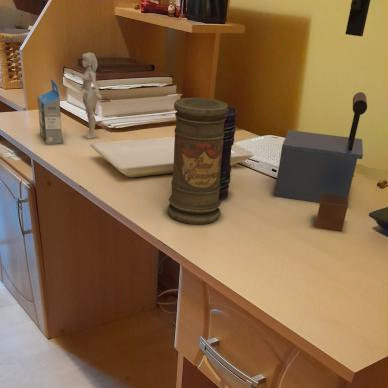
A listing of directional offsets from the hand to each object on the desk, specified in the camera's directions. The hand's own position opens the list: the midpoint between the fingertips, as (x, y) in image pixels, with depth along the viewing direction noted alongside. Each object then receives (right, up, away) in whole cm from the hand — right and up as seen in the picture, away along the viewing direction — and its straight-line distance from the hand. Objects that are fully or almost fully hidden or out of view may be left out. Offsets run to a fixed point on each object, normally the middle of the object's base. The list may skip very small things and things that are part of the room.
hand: (376, 34), depth 86 cm
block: (-7, -30, +4) cm, 31 cm away
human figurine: (-55, -1, +40) cm, 68 cm away
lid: (-6, -14, +12) cm, 19 cm away
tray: (-35, -12, +26) cm, 46 cm away
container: (-30, -29, +4) cm, 42 cm away
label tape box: (-64, -3, +36) cm, 74 cm away
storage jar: (-28, -23, +13) cm, 39 cm away
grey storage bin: (-7, -21, +18) cm, 28 cm away
